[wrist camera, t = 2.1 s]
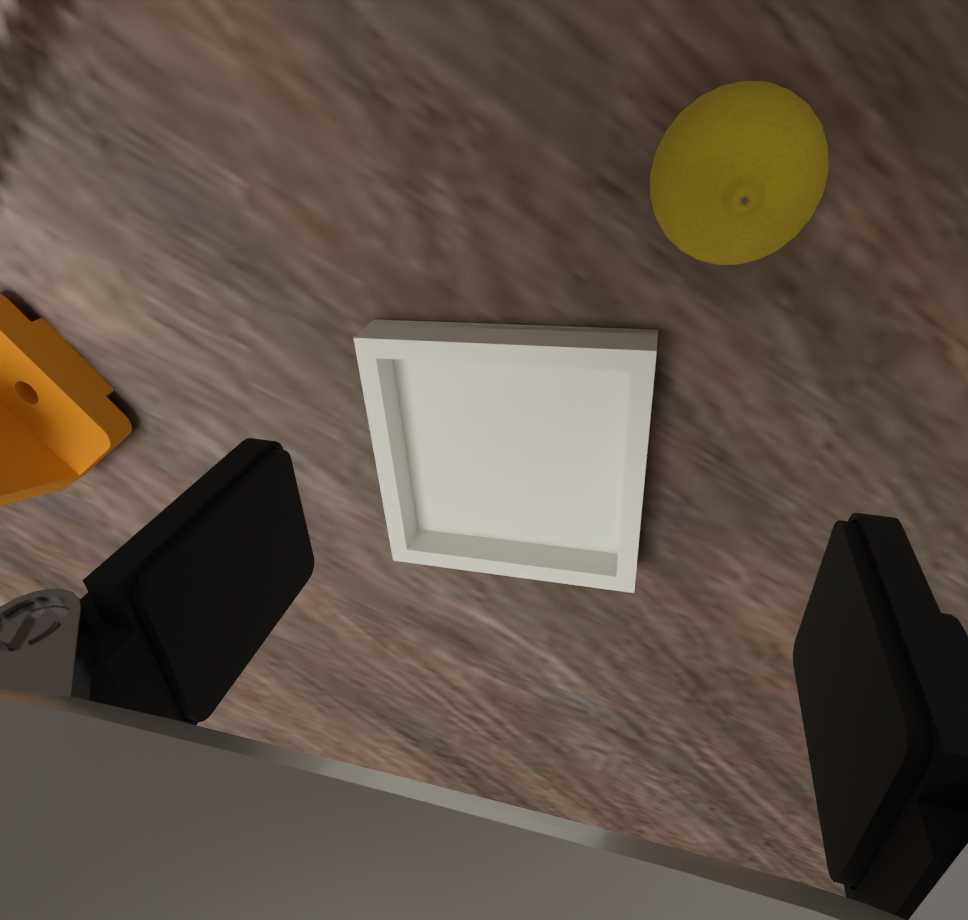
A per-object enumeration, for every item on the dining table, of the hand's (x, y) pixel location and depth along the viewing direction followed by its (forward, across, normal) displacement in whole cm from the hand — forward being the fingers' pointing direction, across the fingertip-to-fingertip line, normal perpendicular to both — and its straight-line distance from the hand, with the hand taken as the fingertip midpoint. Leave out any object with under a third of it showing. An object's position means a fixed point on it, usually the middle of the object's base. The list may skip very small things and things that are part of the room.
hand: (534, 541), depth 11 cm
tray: (+20, +5, +11) cm, 23 cm away
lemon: (+20, -4, -4) cm, 21 cm away
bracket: (+20, +35, +10) cm, 42 cm away
